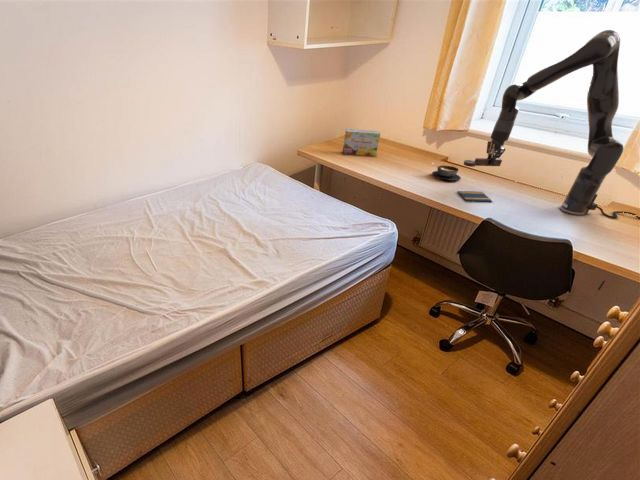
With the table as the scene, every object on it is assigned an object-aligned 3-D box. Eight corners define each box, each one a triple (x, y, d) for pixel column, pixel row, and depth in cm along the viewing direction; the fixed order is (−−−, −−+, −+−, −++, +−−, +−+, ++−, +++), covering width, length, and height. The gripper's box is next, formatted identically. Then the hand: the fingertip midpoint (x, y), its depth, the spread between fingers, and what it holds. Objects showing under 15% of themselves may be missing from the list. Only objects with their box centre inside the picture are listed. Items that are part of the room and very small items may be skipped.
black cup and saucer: (452, 184, 204) (457, 171, 200) (424, 176, 214) (427, 163, 209) (464, 177, 212) (469, 164, 208) (436, 170, 222) (440, 157, 218)
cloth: (481, 193, 194) (482, 191, 194) (491, 202, 185) (492, 200, 185) (457, 192, 195) (457, 190, 195) (465, 201, 186) (466, 199, 186)
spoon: (496, 163, 195) (498, 157, 193) (501, 167, 190) (504, 161, 188) (461, 162, 196) (463, 156, 194) (466, 166, 191) (468, 160, 189)
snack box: (342, 154, 247) (345, 130, 239) (342, 151, 252) (345, 128, 243) (375, 157, 242) (380, 133, 234) (375, 154, 247) (380, 130, 238)
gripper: (488, 125, 188) (475, 159, 198) (501, 133, 177) (487, 168, 187) (503, 125, 188) (490, 159, 198) (518, 133, 177) (503, 169, 186)
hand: (489, 164), depth 192 cm, fingers closed on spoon, 2 cm apart
